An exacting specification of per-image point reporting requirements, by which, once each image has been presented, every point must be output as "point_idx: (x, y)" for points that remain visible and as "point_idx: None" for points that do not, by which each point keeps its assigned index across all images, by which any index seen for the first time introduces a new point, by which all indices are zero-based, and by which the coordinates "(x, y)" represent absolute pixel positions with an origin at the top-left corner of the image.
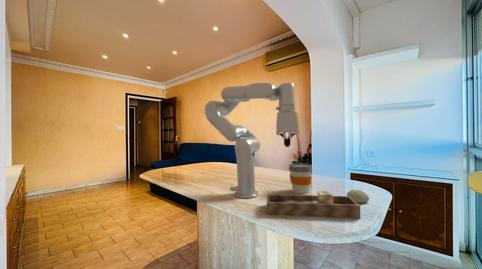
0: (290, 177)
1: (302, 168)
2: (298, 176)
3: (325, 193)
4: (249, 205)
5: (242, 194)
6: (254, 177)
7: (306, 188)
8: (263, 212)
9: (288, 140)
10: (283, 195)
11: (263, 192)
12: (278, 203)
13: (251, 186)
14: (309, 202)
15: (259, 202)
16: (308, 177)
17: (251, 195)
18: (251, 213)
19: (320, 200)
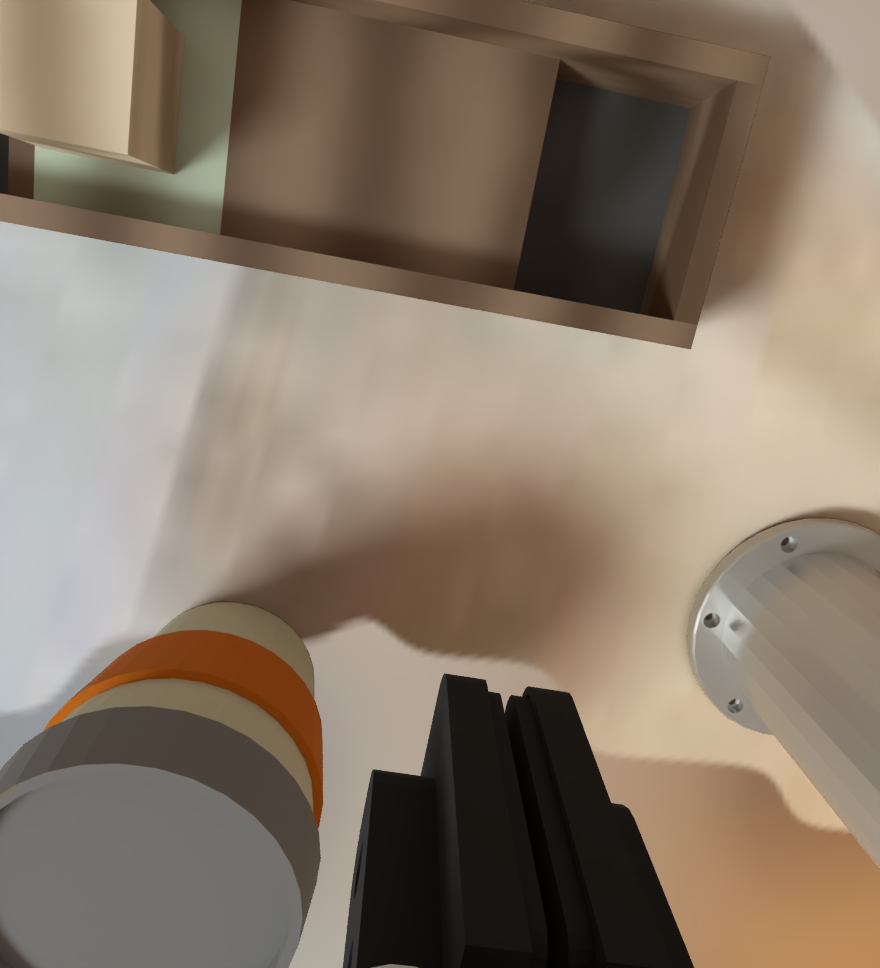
0: (321, 768)
1: (136, 747)
2: (231, 697)
3: (56, 30)
4: (827, 336)
5: (869, 564)
6: (815, 710)
7: (174, 628)
8: None
9: (490, 861)
10: (523, 292)
11: (617, 677)
12: (645, 29)
13: (817, 606)
14: (266, 174)
15: (716, 406)
16: (99, 682)
17: (778, 545)
18: (850, 134)
19: (161, 15)
